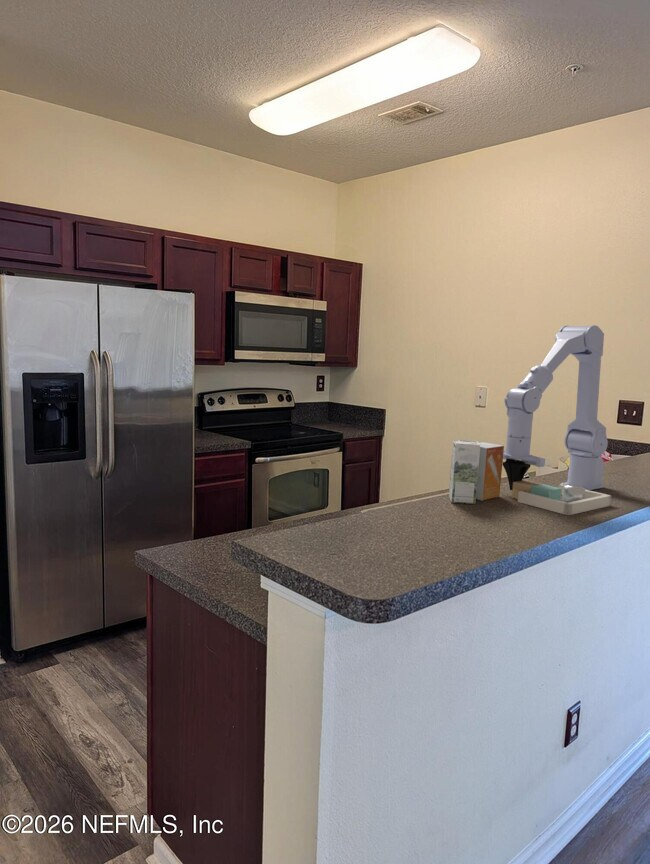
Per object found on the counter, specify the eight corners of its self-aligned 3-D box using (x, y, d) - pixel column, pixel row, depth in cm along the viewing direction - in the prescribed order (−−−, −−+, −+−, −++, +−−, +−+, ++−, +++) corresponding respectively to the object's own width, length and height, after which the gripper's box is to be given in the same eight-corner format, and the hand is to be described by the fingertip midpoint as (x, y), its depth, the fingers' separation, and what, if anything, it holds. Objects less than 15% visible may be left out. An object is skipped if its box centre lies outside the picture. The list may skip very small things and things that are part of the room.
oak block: (524, 495, 154) (525, 480, 153) (541, 500, 150) (542, 484, 149) (511, 497, 151) (513, 482, 150) (529, 502, 147) (530, 486, 146)
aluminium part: (569, 498, 153) (570, 482, 153) (587, 503, 149) (589, 487, 149) (557, 500, 150) (559, 485, 150) (576, 505, 146) (577, 489, 146)
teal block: (541, 500, 150) (543, 484, 149) (560, 504, 146) (561, 488, 145) (529, 502, 147) (530, 486, 146) (547, 507, 143) (549, 490, 142)
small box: (482, 501, 146) (487, 447, 144) (460, 496, 151) (464, 444, 149) (500, 496, 152) (504, 445, 150) (478, 491, 156) (482, 441, 154)
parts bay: (560, 493, 158) (561, 484, 157) (610, 505, 147) (611, 495, 147) (517, 501, 147) (518, 491, 147) (568, 515, 136) (569, 504, 136)
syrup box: (472, 498, 148) (476, 439, 146) (475, 505, 142) (480, 443, 140) (448, 497, 149) (452, 438, 147) (451, 503, 143) (455, 442, 141)
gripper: (485, 433, 155) (480, 485, 157) (534, 441, 143) (529, 498, 145) (502, 431, 159) (498, 482, 161) (552, 440, 147) (546, 494, 149)
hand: (514, 490), depth 153 cm, fingers closed
